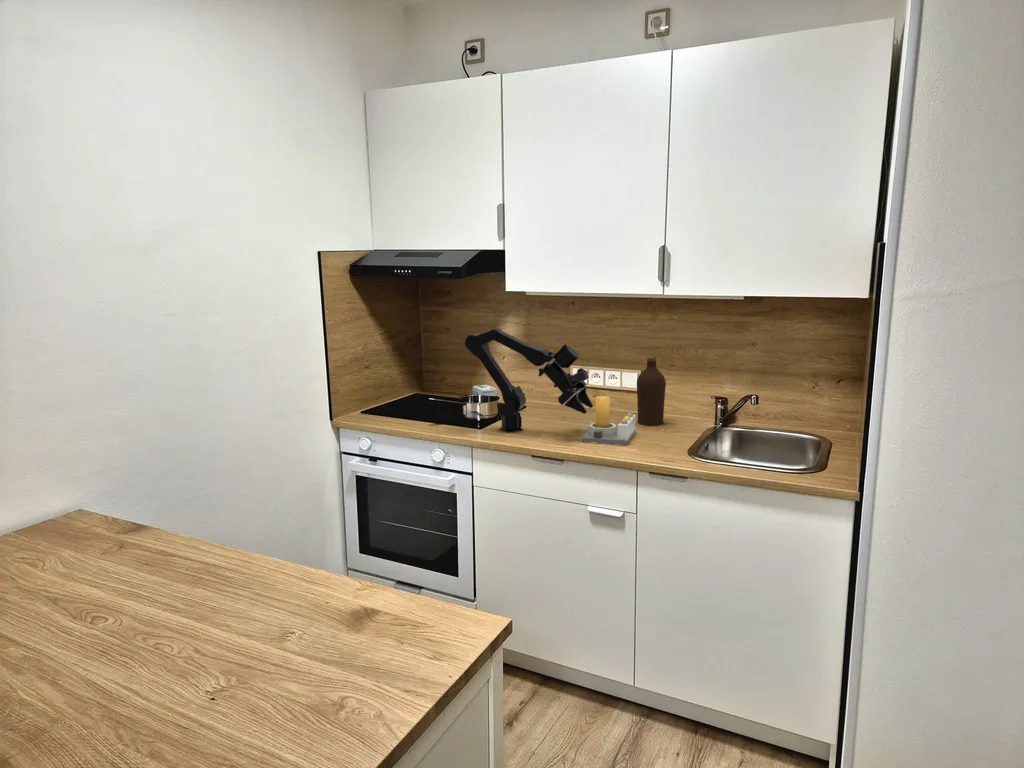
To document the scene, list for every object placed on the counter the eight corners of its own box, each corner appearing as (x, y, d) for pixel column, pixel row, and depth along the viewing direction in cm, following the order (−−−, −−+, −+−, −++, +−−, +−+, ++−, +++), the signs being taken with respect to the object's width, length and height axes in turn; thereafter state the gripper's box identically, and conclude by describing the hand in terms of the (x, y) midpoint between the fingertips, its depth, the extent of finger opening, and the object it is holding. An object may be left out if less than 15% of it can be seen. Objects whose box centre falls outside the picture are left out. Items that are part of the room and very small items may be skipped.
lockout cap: (595, 434, 235) (595, 398, 233) (595, 430, 240) (595, 395, 238) (610, 434, 235) (610, 398, 232) (609, 430, 240) (609, 395, 237)
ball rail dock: (582, 442, 231) (582, 419, 230) (594, 429, 248) (594, 408, 246) (626, 445, 226) (626, 422, 224) (635, 432, 242) (636, 410, 241)
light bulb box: (472, 411, 281) (472, 385, 279) (487, 409, 283) (487, 384, 281) (482, 416, 271) (482, 390, 269) (498, 414, 274) (497, 388, 272)
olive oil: (652, 427, 249) (653, 359, 244) (630, 422, 257) (631, 357, 252) (670, 422, 255) (672, 356, 251) (648, 418, 263) (649, 354, 259)
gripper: (567, 365, 228) (599, 400, 226) (581, 358, 245) (611, 390, 243) (545, 387, 232) (576, 421, 230) (560, 378, 249) (589, 409, 247)
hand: (589, 409), depth 238 cm, fingers open, 9 cm apart
